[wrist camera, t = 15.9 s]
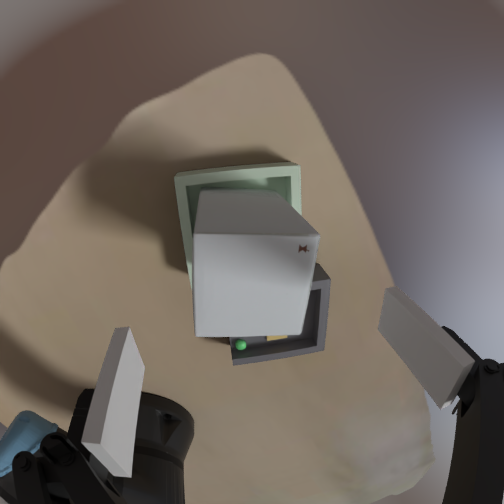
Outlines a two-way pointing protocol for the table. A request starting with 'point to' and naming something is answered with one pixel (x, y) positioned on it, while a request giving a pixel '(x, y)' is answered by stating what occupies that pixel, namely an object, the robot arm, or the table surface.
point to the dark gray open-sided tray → (290, 345)
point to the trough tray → (243, 176)
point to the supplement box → (250, 264)
